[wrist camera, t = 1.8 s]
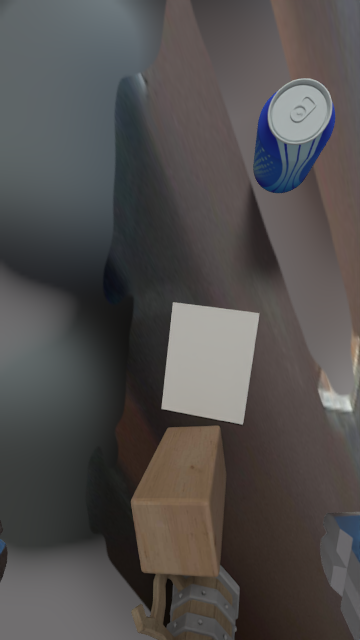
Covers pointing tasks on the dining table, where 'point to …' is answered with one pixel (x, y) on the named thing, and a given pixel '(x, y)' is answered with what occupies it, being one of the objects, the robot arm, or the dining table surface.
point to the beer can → (292, 134)
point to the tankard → (192, 608)
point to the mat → (209, 361)
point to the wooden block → (182, 504)
